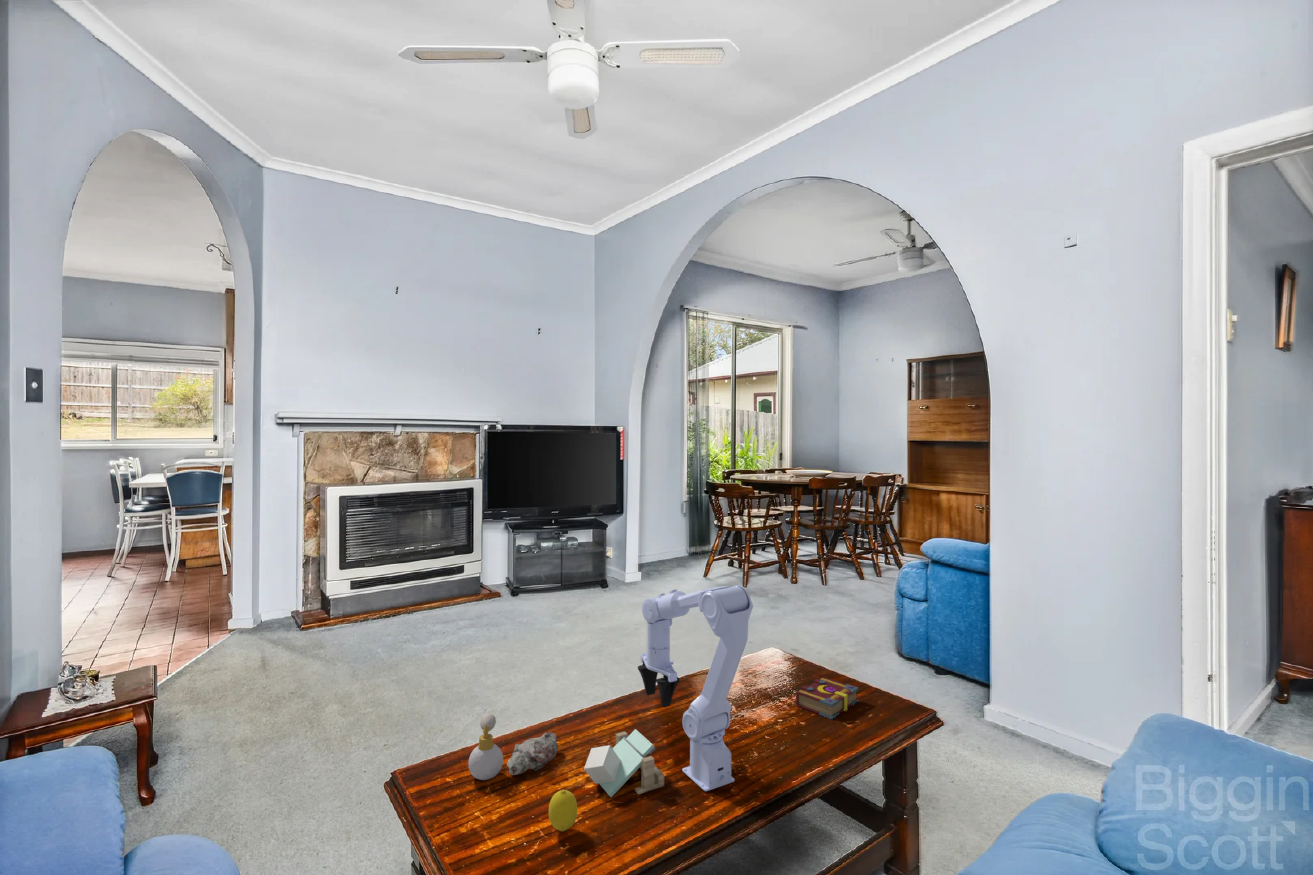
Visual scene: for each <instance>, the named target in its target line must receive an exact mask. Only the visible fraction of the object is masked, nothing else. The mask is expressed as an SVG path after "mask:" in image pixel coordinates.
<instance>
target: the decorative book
mask: <svg viewBox="0 0 1313 875" xmlns="http://www.w3.org/2000/svg"><path fill="white" fill-rule="evenodd" d="M857 691H859V687H858V686H855V685H851V684H849V683H842V682H839V681H836V680H835V679H831V678H827V677H824V676H823V677H821V678H820V679H819V678H816V679H814V680H813V682H812V683H811V684H809V685H804V686H802V687H801V689H800V690H798V691H796V706H797V707H799V708H802V709H804V710H807V711H810V712H812V713H815V714H818V715H819V716H821V715H822V717H823V716H824V718H826V717H827V719H828V718H829V720H831V719H832V720H833V718H834V719H835V718H836V716H837V715H838V716H839V715H840V714H841V713H843V711H845V710H846V711H848V708H850V707H853V706H855V705H856V704H857V703H856V702H858V703H859V698H857ZM855 703H856V704H855ZM854 704H855V705H854ZM852 705H853V706H852ZM846 711H845V712H846ZM838 716H837V717H838Z"/></svg>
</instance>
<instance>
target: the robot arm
mask: <svg viewBox="0 0 1313 875" xmlns="http://www.w3.org/2000/svg"><path fill="white" fill-rule="evenodd" d="M668 592H669V593H667V594H666V593H661V594H658V596H656V597H648V598H646V599H645V600H643V603H642V605H641V606H642V607H641V610H642V611H641V612H642V615H643V618H644V619H645V621H646V653H642V654H640V663H642V664H641V665H638V666H637V670H638V671H639V674H640V676H641V679H642V681H643V682H642V683H643V686H644V691H645V693H646V696H650V695H655V693H656V688H657V686H658V690H659V698H660V705H661V708H668V707H671V704H672V700H673V696H674V693H675V690H676V688H677V687H678V685H679V683H680V677H678V672H676V670H675V669H674V666H673V665H674V661H673V660H672V659H670V658H671V626H672V625H673V619H675V618H678V617H684V616H686V615H687V614H688V613H689V611H690V609H692V608H697V607H698V608H699V612H701V613H702V614H703V616H704V618H705V620H706V622H707V624H708V625H709V627H710V629H711V631H712V632H713V634H714V635H715V636H717V637H718V638H719V640H718V643H717V647H716V649H715V652H714V656H713V657H712V661H711V663H710V667H709V670H708V673H707V675H706V679H705V682H704V684H703V687H702V691H701V693H700V694H699V696H698V697H697V698H695V699H694V700H693V701H692V702H690V705H689V708H688V709H687V710H686V711H684V712H683V715H682V722H681V723H682V728H683V730H684V733H685V734H686V735H687V737H688V738H689V740H690V741H689V747H690V748H689V765H688V766H686V767H683V768H682V770H681V771H682V773H684V774H685V775H686V776H687V777H689V778H690V779H691V781H693V782H694V784H696V785H697V787H698V786H699V788H700V789H702V790H703V791H704V792H708V791H711V790H714V789H716V788H720V787H723V786H726V785H729V784H731V783H735V778H734V777H733V776H732V752H731V750H730V749H729V747H727V745H726V744H725V742H724V741H725V740H724V738H723V736H725V735H726V729H728V728H729V727H730V725H731V710H732V705H731V703H730V701H729V700H728V699H727V698H728V695H729V693H730V690H731V687H732V684H733V682H734V679H735V677H736V673H737V671H738V668H739V665H740V662H741V659H742V656H743V654H744V652H745V648H746V646H747V642H748V639H749V638H748V637H749V621H750V620H749V619H750V616H751V614H752V610H753V608H754V605H753V602H752V600H751V596H750V594H749V592H748V590H747V589H746V588H745V587H744V586H743V585H740V584H736V585H733V586H731V585H725V586H724V585H722V586H714V587H708V588H704V589H698V590H696V591H693V592H691V593H685V592H684V591H681V590H678V589H671V590H669V591H668ZM658 674H661V675H662V676H663V677H660V678H658Z"/></svg>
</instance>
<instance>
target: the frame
mask: <svg viewBox="0 0 1313 875" xmlns="http://www.w3.org/2000/svg"><path fill="white" fill-rule="evenodd" d="M628 736H629V734H628V733H627V732H626V731H620V732H618V733H615V745H616V744H617V743H618V742H619V741H620V740H621V739H622V737H625V738H627V737H628ZM645 757H646V758H643V759H642V764H641V766H640V767H639V768H638V769H640V770H641V775H640V776H641V779H640V780H641V783H640V784H641V786H638V787H635V789H634V791H635V792H636V794H637V795H641V794H644V793H647V792H649V791H653V790H656V789H659V788H662V787H665V774H664V773H663V772H662V771H661V770H660V769H659V768H658V767H657V766H656V765H655V758H654V757H653V756H652V755H649V756H645Z"/></svg>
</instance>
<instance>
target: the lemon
mask: <svg viewBox="0 0 1313 875" xmlns="http://www.w3.org/2000/svg"><path fill="white" fill-rule="evenodd" d="M577 818H578V803H577V799H576V797H575V795H574V793H572V792H571V791H569V790H568V789H561V790H559V791H557V792H556V793H554V794H553V795H552V797H551V799H550V801H549V805H548V820H549V822H550V825H551V826H552V827H553V828H554V829H555V830H556V831H557V830H558V831H560V832H565V831H567V830H570V828H571V827H573V826H574V824H575V822H576V820H577Z"/></svg>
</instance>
